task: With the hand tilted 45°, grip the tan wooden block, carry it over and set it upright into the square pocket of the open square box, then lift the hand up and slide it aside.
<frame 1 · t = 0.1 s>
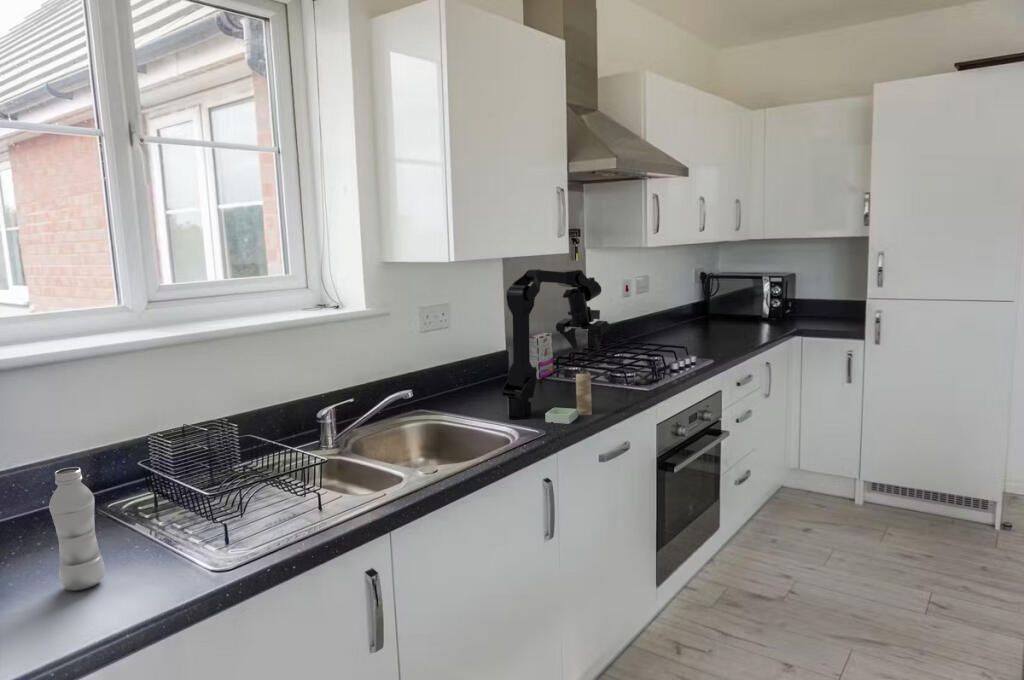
hand: (586, 349, 235), 15 cm above the worktop, tool pointing down, fingers open, 9 cm apart
plastic bottle: (84, 586, 117), on the worktop
open square box: (561, 419, 207), on the worktop
tan wooden block: (584, 413, 213), on the worktop
candy bar box: (541, 377, 272), on the worktop
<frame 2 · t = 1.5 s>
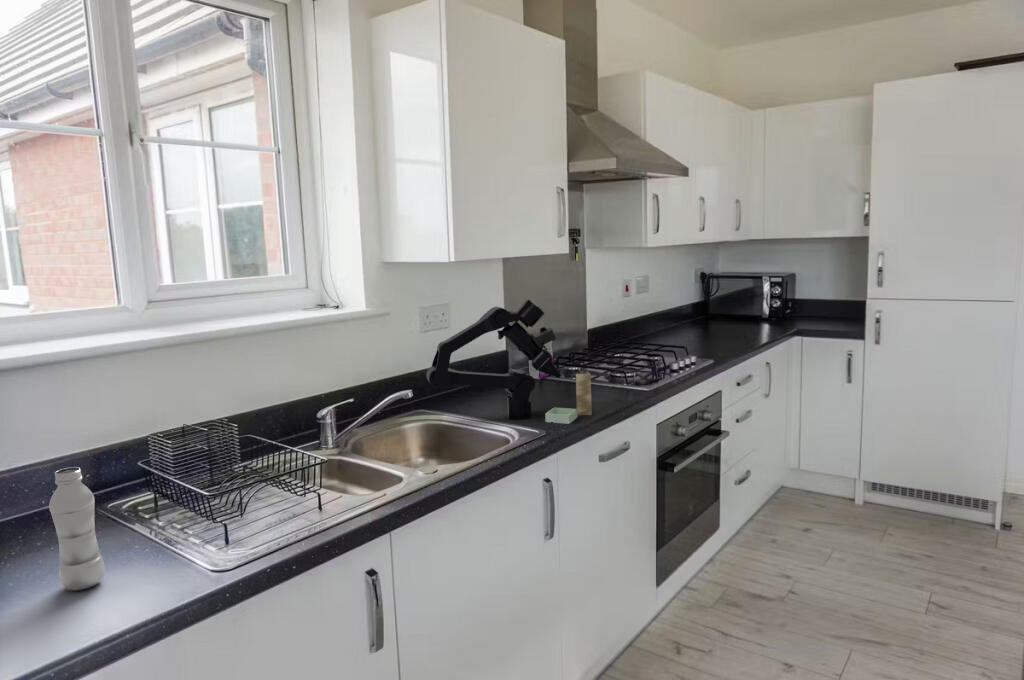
hand: (558, 374, 212), 13 cm above the worktop, tool tilted 45°, fingers open, 9 cm apart
nothing on the worktop moved.
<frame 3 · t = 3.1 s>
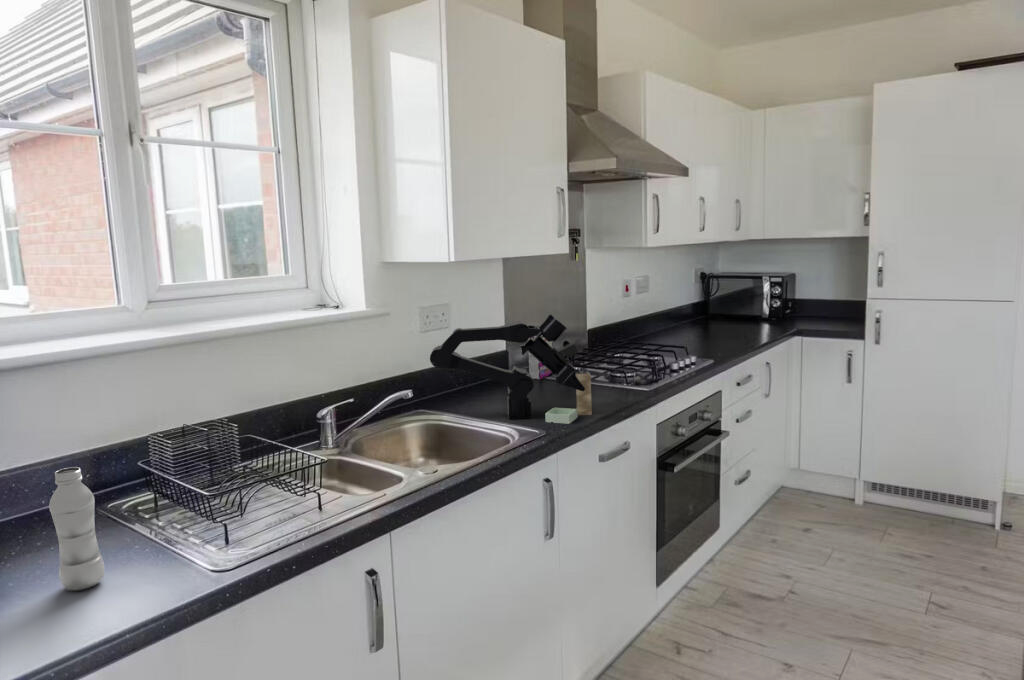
hand: (582, 386, 212), 8 cm above the worktop, tool tilted 45°, fingers open, 9 cm apart
nothing on the worktop moved.
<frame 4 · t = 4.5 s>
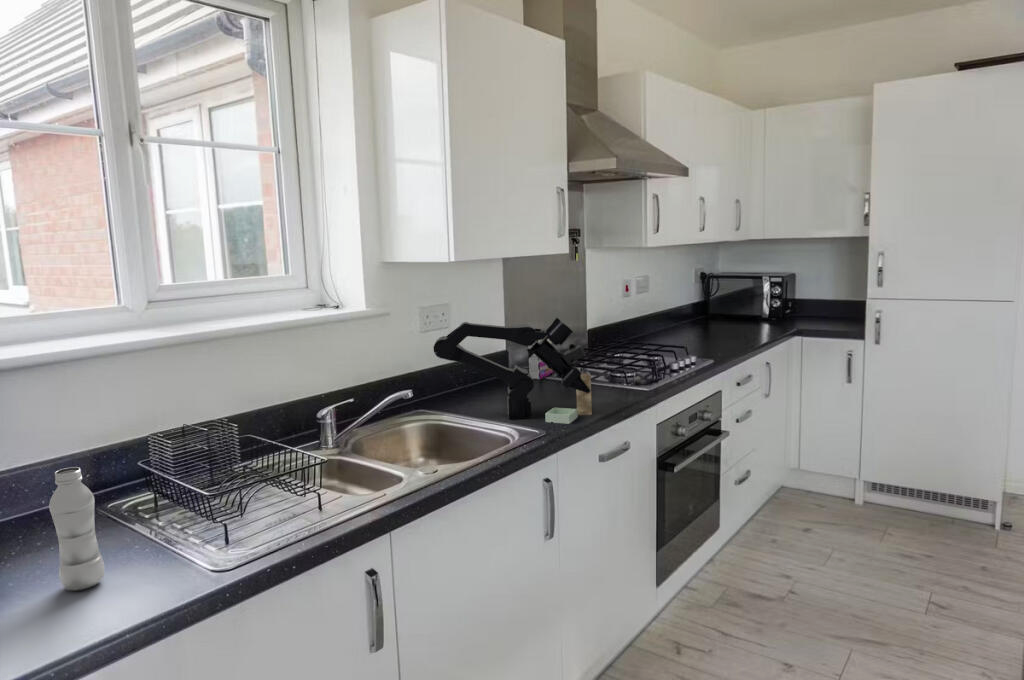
hand: (588, 390, 212), 7 cm above the worktop, tool tilted 45°, fingers closed on tan wooden block, 4 cm apart
tan wooden block: (584, 413, 213), on the worktop, touching gripper
everything else where it was.
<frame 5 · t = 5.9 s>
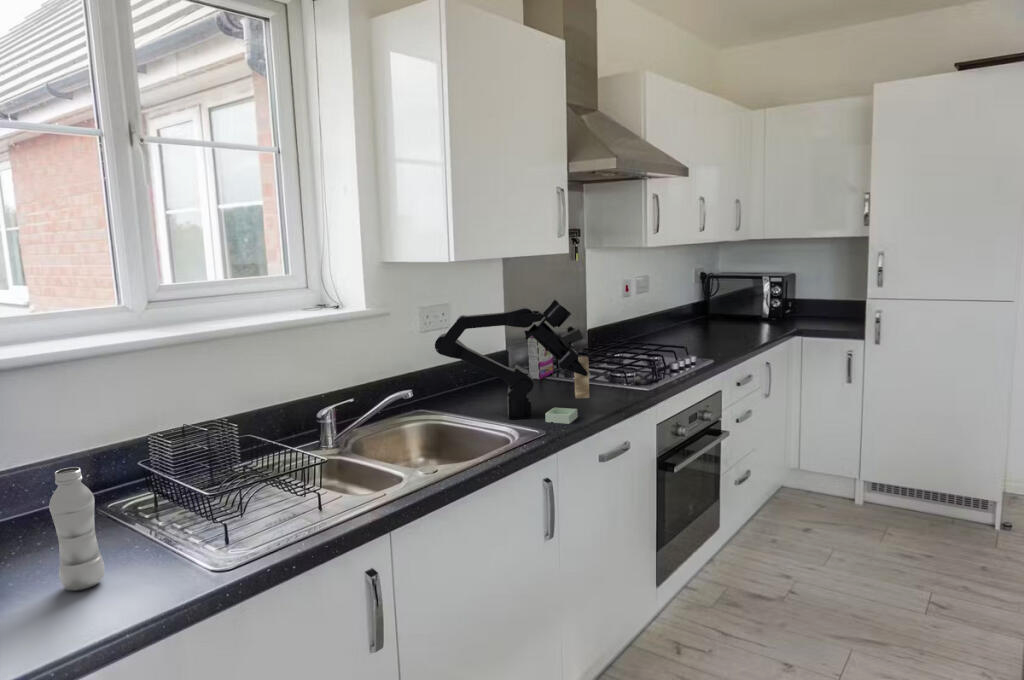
hand: (586, 373, 211), 13 cm above the worktop, tool tilted 45°, fingers closed on tan wooden block, 4 cm apart
tan wooden block: (582, 396, 212), point 5 cm above the worktop, touching gripper
everything else where it was.
when the fingers open (9 cm above the worktop, at t = 7.8 s): tan wooden block drops 1 cm, resting on open square box.
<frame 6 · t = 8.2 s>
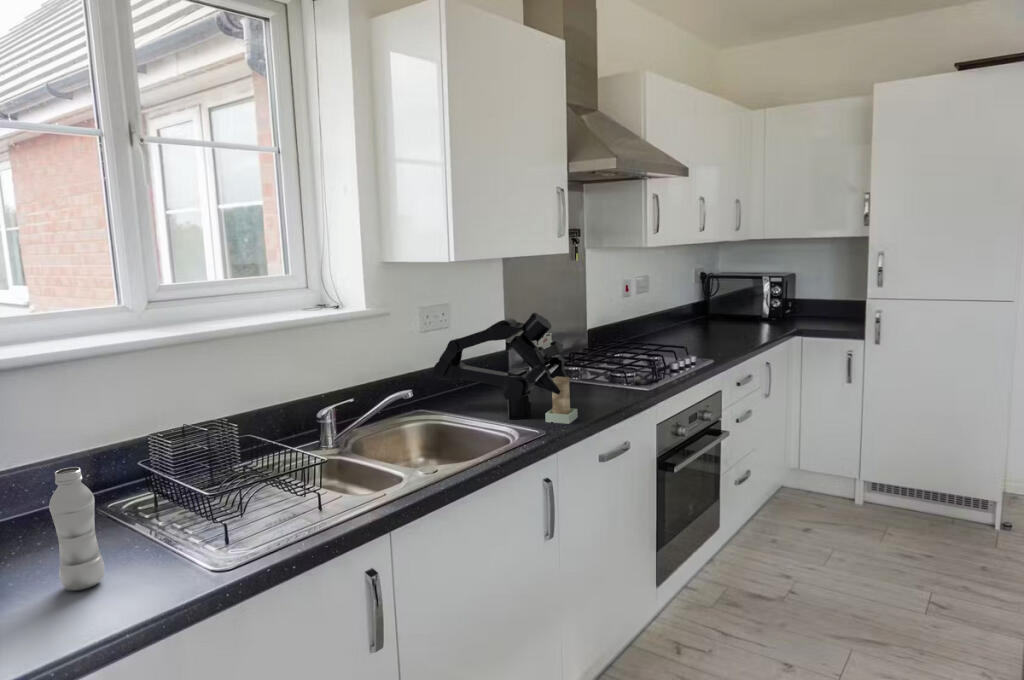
hand: (565, 389, 205), 9 cm above the worktop, tool tilted 45°, fingers open, 9 cm apart
tan wooden block: (561, 417, 207), point 1 cm above the worktop, touching open square box
everything else where it was.
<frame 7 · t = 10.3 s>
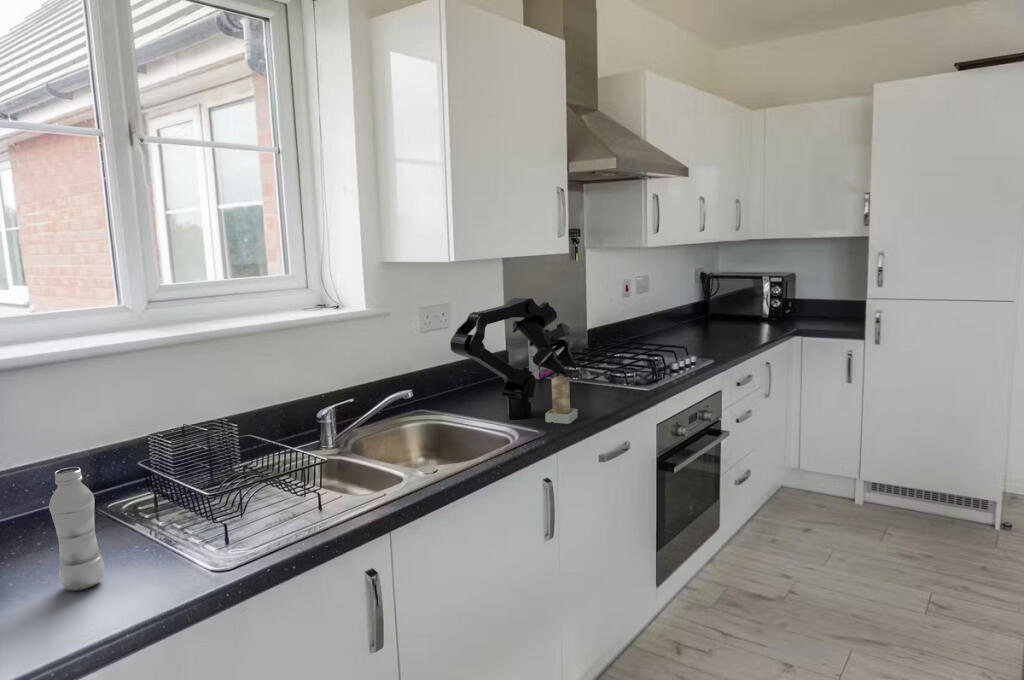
hand: (571, 371, 210), 14 cm above the worktop, tool tilted 45°, fingers open, 9 cm apart
nothing on the worktop moved.
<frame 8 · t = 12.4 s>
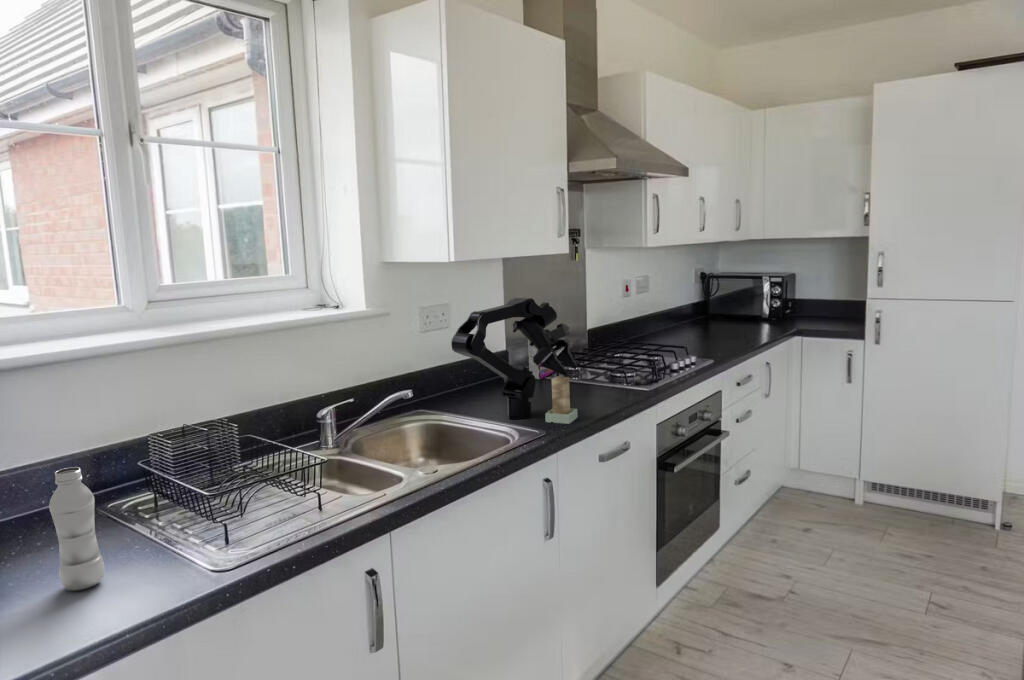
hand: (571, 371, 210), 14 cm above the worktop, tool tilted 45°, fingers open, 9 cm apart
nothing on the worktop moved.
at the end: tan wooden block 0.0 cm off-centre on the open square box, point 0.6 cm above the open square box's base; tan wooden block tilted 0°; the gripper is holding nothing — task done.
